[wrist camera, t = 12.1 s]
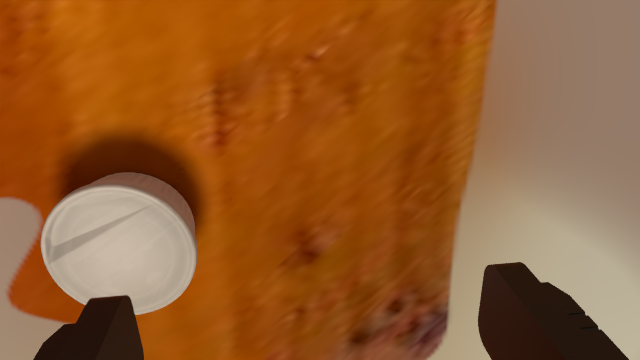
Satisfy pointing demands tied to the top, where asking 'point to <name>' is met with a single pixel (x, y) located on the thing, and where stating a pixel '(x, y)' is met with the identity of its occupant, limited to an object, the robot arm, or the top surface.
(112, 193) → the ramekin
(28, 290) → the top surface
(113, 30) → the top surface
